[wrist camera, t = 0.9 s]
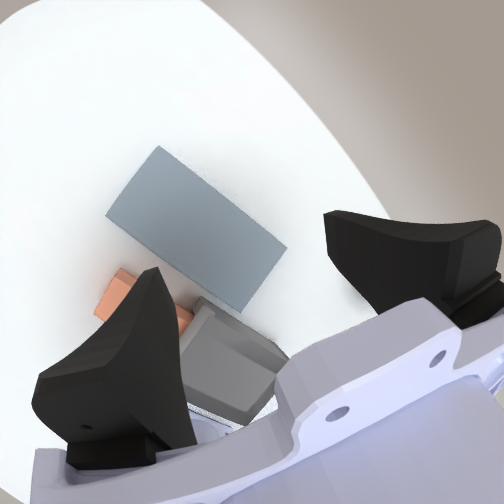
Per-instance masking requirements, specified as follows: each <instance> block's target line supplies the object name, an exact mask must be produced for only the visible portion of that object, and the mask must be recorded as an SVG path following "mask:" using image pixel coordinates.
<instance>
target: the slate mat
mask: <svg viewBox="0 0 504 504" xmlns="http://www.w3.org/2000/svg"><path fill="white" fill-rule="evenodd" d="M105 216H106V217H107V218H109V219H110V220H111V221H113V222H114V223H115V224H116V225H118V226H119V227H120V228H122V229H123V230H124V231H126V232H127V233H128V234H130V235H131V236H132V237H134V238H135V239H136V240H138V241H139V242H140V243H142V244H143V245H144V246H146V247H147V248H148V249H150V250H151V251H152V252H154V253H155V254H156V255H158V256H159V257H161V258H162V259H163V260H165V261H166V262H167V263H169V264H170V265H172V266H173V267H174V268H176V269H177V270H179V271H180V272H181V273H183V274H184V275H186V276H187V277H189V278H190V279H191V280H193V281H194V282H196V283H197V284H199V285H200V286H201V287H203V288H204V289H206V290H207V291H209V292H210V293H212V294H213V295H215V296H216V297H218V298H219V299H221V300H222V301H223V302H225V303H226V304H228V305H229V306H231V307H232V308H234V309H235V310H237V311H239V312H240V313H241V311H242V310H243V308H244V307H245V306H246V304H247V303H248V302H249V300H250V299H251V298H252V296H253V295H254V294H255V292H256V291H257V289H258V288H259V287H260V285H261V284H262V283H263V281H264V280H265V278H266V277H267V276H268V274H269V273H270V272H271V270H272V269H273V267H274V266H275V265H276V263H277V262H278V260H279V259H280V258H281V256H282V255H283V253H284V252H285V251H286V249H287V247H286V246H284V245H283V244H282V243H281V242H280V241H278V240H277V239H276V238H275V237H274V236H272V235H271V234H270V233H269V232H267V231H266V230H265V229H264V228H263V227H261V226H260V225H259V224H258V223H256V222H255V221H254V220H253V219H251V218H250V217H249V216H248V215H247V214H245V213H244V212H243V211H242V210H240V209H239V208H238V207H237V206H235V205H234V204H233V203H232V202H230V201H229V200H228V199H227V198H225V197H224V196H223V195H222V194H220V193H219V192H218V191H217V190H215V189H214V188H213V187H211V186H210V185H209V184H208V183H206V182H205V181H204V180H203V179H201V178H200V177H199V176H198V175H196V174H195V173H194V172H192V171H191V170H190V169H189V168H187V167H186V166H185V165H183V164H182V163H181V162H180V161H178V160H177V159H176V158H174V157H173V156H172V155H171V154H169V153H168V152H167V151H165V150H164V149H163V148H161V147H160V146H158V147H157V148H156V149H155V150H154V152H153V153H152V154H151V155H150V156H149V158H148V159H147V160H146V161H145V163H144V164H143V165H142V166H141V168H140V169H139V170H138V172H137V173H136V174H135V175H134V177H133V178H132V179H131V181H130V182H129V183H128V185H127V186H126V187H125V189H124V190H123V191H122V193H121V194H120V195H119V197H118V198H117V200H116V201H115V202H114V204H113V205H112V207H111V208H110V210H109V211H108V212H107V214H106V215H105Z"/></svg>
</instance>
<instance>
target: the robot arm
mask: <svg viewBox="0 0 504 504" xmlns="http://www.w3.org/2000/svg"><path fill="white" fill-rule="evenodd" d="M323 216H324V224H325V233H326V242H327V252H328V256H329V257H330V259H331V260H332V262H333V263H334V265H335V266H336V268H337V269H338V270H339V272H340V273H341V274H342V275H343V276H344V277H345V278H346V279H347V280H348V281H349V282H350V283H351V284H352V285H353V286H354V287H355V289H356V290H357V291H358V292H359V293H360V294H361V295H362V296H363V297H364V298H365V299H366V300H367V301H368V302H369V304H370V305H371V306H372V307H373V309H374V310H375V311H376V313H377V314H378V316H376V317H373V318H371V319H369V320H367V321H365V322H363V323H360V324H358V325H356V326H354V327H351V328H349V329H347V330H345V331H342V332H340V333H338V334H335V335H333V336H331V337H328V338H326V339H323V340H321V341H318V342H316V343H314V344H312V345H310V346H308V347H307V348H305V349H303V350H302V351H300V352H298V353H297V354H295V355H293V356H292V357H291V358H290V359H289V361H288V362H287V363H286V364H285V365H284V366H283V368H282V369H281V370H280V371H279V372H278V373H277V375H276V380H275V386H274V393H275V396H276V399H277V402H278V409H277V410H275V411H274V412H272V413H270V414H268V415H266V416H264V417H262V418H260V419H259V420H257V421H255V422H253V423H251V424H249V425H247V426H245V427H243V428H241V429H239V430H237V431H234V432H233V429H232V428H231V427H228V426H226V425H223V424H221V423H218V422H216V421H213V420H211V419H208V418H206V417H204V416H201V415H199V414H197V413H195V412H192V411H190V410H188V406H187V402H186V397H185V392H184V387H183V382H182V376H181V367H180V346H179V324H178V318H177V313H176V307H175V304H174V302H173V300H172V297H171V295H170V293H169V291H168V289H167V286H166V284H165V282H164V280H163V278H162V275H161V273H160V271H159V268H158V267H155V268H152V269H149V270H146V271H144V272H143V273H142V274H141V275H140V277H139V278H138V279H137V281H136V282H135V284H134V285H133V286H132V288H131V289H130V291H129V292H128V294H127V295H126V296H125V298H124V299H123V300H122V302H121V303H120V304H119V306H118V307H117V308H116V309H115V311H114V312H113V313H112V315H111V316H110V317H109V318H108V319H107V320H106V321H105V323H104V324H103V325H102V326H101V327H100V328H99V329H98V330H97V331H96V332H95V333H94V334H93V335H92V336H90V337H89V338H88V339H87V340H86V341H85V342H84V343H83V344H82V345H81V346H79V347H78V348H77V349H76V350H74V351H73V352H72V353H70V354H69V355H68V356H66V357H65V358H64V359H62V360H61V361H59V362H58V363H56V364H54V365H53V366H51V367H50V368H48V369H46V370H45V371H43V372H41V373H40V374H39V376H38V380H37V383H36V387H35V391H34V394H33V398H32V402H31V404H32V408H33V410H34V412H35V414H36V415H37V417H38V418H39V419H40V420H41V421H42V422H43V423H44V424H45V425H46V426H47V427H48V428H50V429H51V430H52V431H53V432H54V433H56V434H57V435H58V436H59V437H61V438H62V439H63V440H65V441H66V442H67V443H68V446H67V451H65V450H62V449H57V448H38V449H36V450H35V457H34V465H33V473H32V483H31V495H30V504H504V408H503V407H502V405H501V404H500V403H499V402H498V401H497V400H496V398H495V397H494V395H495V394H496V393H497V392H498V391H499V390H500V389H501V388H502V387H503V386H504V283H503V282H501V281H500V279H501V274H500V273H499V272H497V271H496V267H497V263H498V259H499V254H500V250H501V243H502V236H501V232H500V229H499V227H498V226H497V225H495V224H494V223H492V222H490V221H488V220H479V221H472V222H465V223H453V224H419V223H409V222H400V221H394V220H388V219H382V218H377V217H372V216H367V215H363V214H358V213H353V212H347V211H340V210H335V211H332V212H328V213H325V214H323ZM225 433H227V434H225Z"/></svg>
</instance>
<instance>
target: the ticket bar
mask: <svg viewBox="0 0 504 504" xmlns="http://www.w3.org/2000/svg"><path fill="white" fill-rule="evenodd" d="M136 281H137V279H136V278H135V277H133V276H132V275H130V274H129V273H127V272H126V271H124V270H123V269H121V268H120V269H119V271H118V272H117V273H116V275H115V276H114V278H113V279H112V281H111V283H110V285H109V286H108V288H107V290H106V292H105V293H104V295H103V297H102V299H101V300H100V302H99V304H98V306H97V308H96V309H95V311H94V313H93V314H94V315H95V316H97V317H98V318H100V319H101V320H103V321H104V322H105V321H106V320H107V319H108V318H109V317H110V316H111V315H112V313H113V312H114V311H115V309H116V308H117V307H118V306H119V304H120V303H121V302H122V300H123V299H124V298H125V296H126V295H127V294H128V292H129V291H130V289H131V288H132V286H133V285H134V284H135V282H136ZM174 304H175V303H174ZM175 307H176V313H177V318H178V324H179V338H180V337H181V335H182V334H183V332H184V331H185V330H186V328H187V327H188V325H189V324H190V323H191V321H192V320H193V319H194V317H195V316H194V315H193V314H192V313H190V312H188V311H187V310H185V309H183V308H182V307H180V306H178V305H177V304H175Z"/></svg>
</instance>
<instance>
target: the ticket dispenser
mask: <svg viewBox="0 0 504 504" xmlns="http://www.w3.org/2000/svg"><path fill="white" fill-rule="evenodd" d="M192 310H193V313H194V316H195V317H194V319H193V320H192V321H191V323H190V324H189V325H188V327H187V328H186V330H185V331H184V332H183V334H182V335H181V337H180V338H179V346H180V367H181V376H182V382H183V387H184V392H185V397H186V401H187V402H189V403H191V404H193V405H195V406H197V407H199V408H202V409H204V410H206V411H208V412H211V413H213V414H215V415H218V416H220V417H223V418H225V419H227V420H230V421H232V422H235V423H237V424H240V425H243V426H247V425H248V424H249V423H250V422H251V421H252V420H253V419H254V417H255V416H256V415H257V414H258V413H259V412H260V411H261V409H262V408H263V407H264V406H265V405H266V404H267V402H268V401H269V400H270V399H271V398H272V397H273V395H274V394H275V393H274V386H275V380H276V375H277V373H278V372H279V371H280V370H281V369H282V368H283V366H284V365H285V364H286V363H287V362H288V361H289V358H288V357H287V356H286V355H285V353H284V352H283V351H282V350H281V349H280V348H279V347H278V346H277V345H276V344H275V343H273V342H272V341H270V340H269V339H267V338H265V337H264V336H262V335H260V334H259V333H257V332H256V331H254V330H252V329H251V328H249V327H248V326H246V325H245V324H243V323H241V322H240V321H238V320H237V319H235V318H234V317H232V316H230V315H229V314H227V313H226V312H224V311H223V310H221V309H220V308H218V307H217V306H215V305H214V304H212V303H211V302H209V301H208V300H206V299H205V298H203V297H202V296H201V298H200V299H199V300H198V302H197V303H196V305H195V306H194V307H193V309H192Z"/></svg>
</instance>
